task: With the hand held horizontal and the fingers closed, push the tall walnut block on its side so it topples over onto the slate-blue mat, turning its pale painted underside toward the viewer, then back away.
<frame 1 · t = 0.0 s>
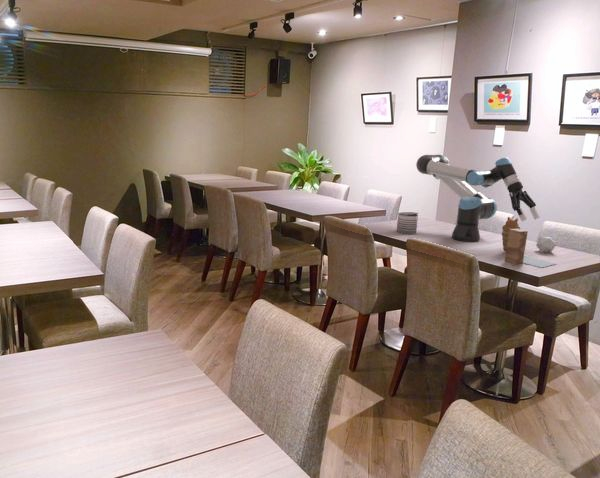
hand: (530, 219, 271), 15 cm above the table, tool tilted 35°, fingers open, 13 cm apart
can: (406, 233, 297), on the table
grey knobbly ball: (544, 252, 266), on the table
mat: (530, 261, 244), on the table
block: (513, 263, 238), on the table
cat ice cream: (507, 252, 260), on the table
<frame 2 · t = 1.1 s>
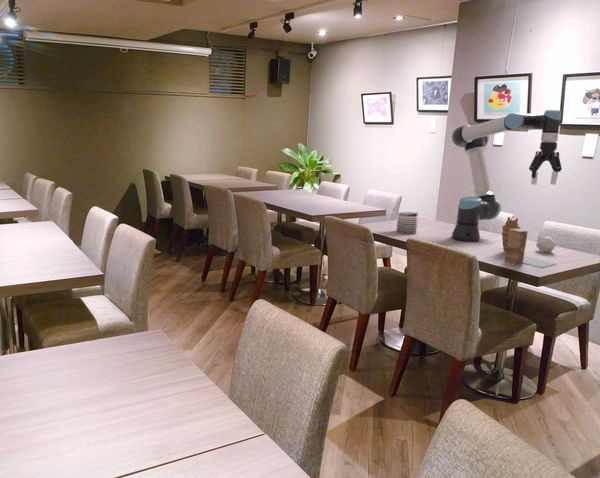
hand: (543, 184, 259), 35 cm above the table, tool pointing down, fingers open, 13 cm apart
nothing on the table moved.
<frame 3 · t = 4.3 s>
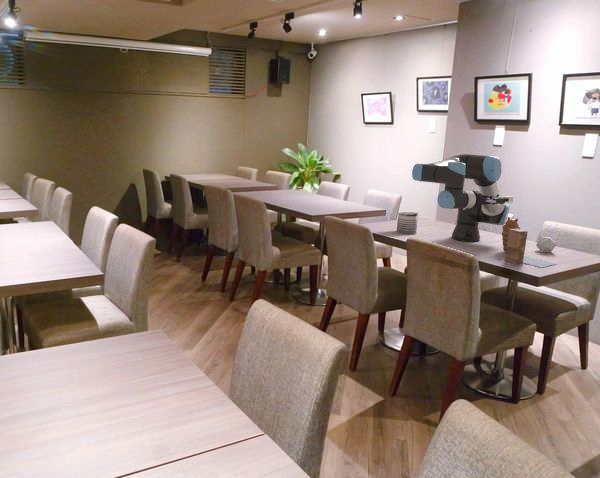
hand: (511, 199, 229), 30 cm above the table, tool horizontal, fingers closed
nothing on the table moved.
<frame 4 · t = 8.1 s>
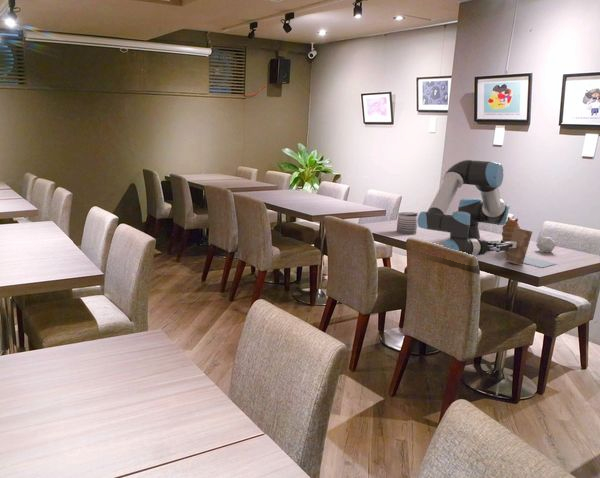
hand: (515, 244, 235), 9 cm above the table, tool horizontal, fingers closed
block: (513, 262, 238), on the table, tilted 11°
everything else where it was.
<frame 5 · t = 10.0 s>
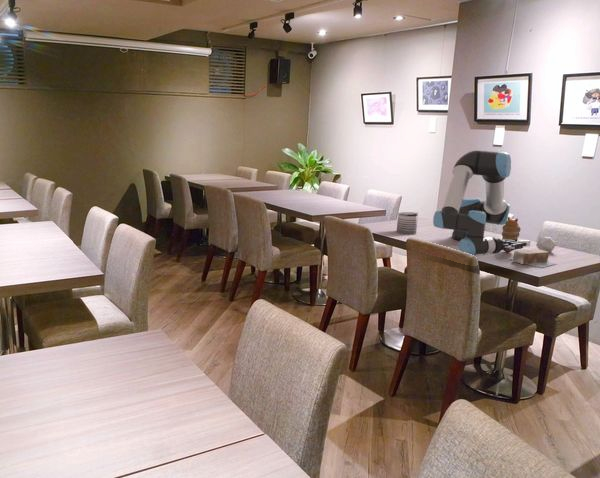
hand: (528, 243, 239), 9 cm above the table, tool horizontal, fingers closed
block: (518, 257, 238), point 3 cm above the table, tilted 90°, touching mat
everything else where it was.
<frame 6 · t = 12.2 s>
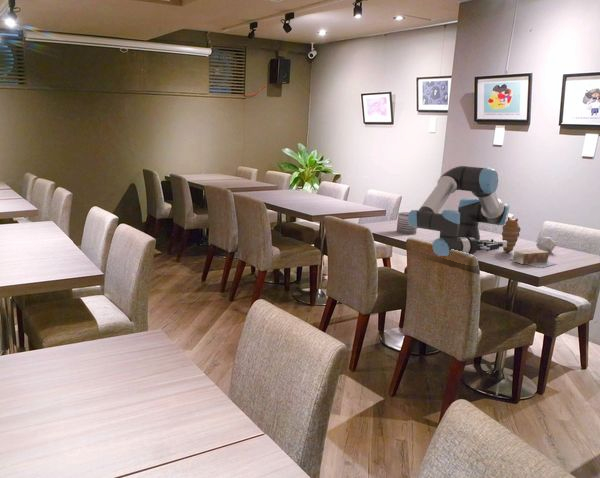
hand: (505, 243, 233), 10 cm above the table, tool horizontal, fingers closed
nothing on the table moved.
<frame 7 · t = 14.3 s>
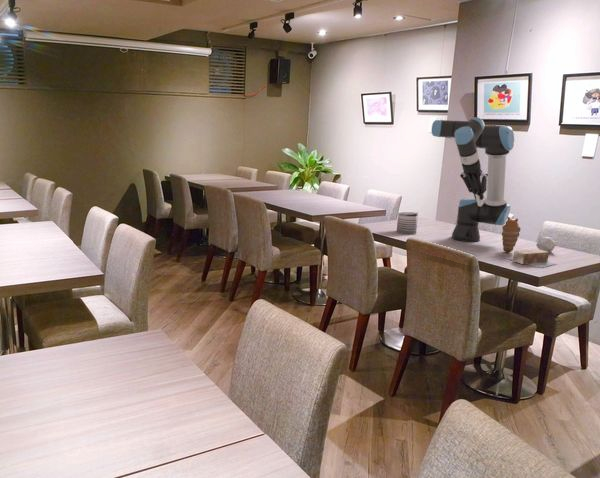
hand: (481, 204, 237), 26 cm above the table, tool tilted 30°, fingers closed
nothing on the table moved.
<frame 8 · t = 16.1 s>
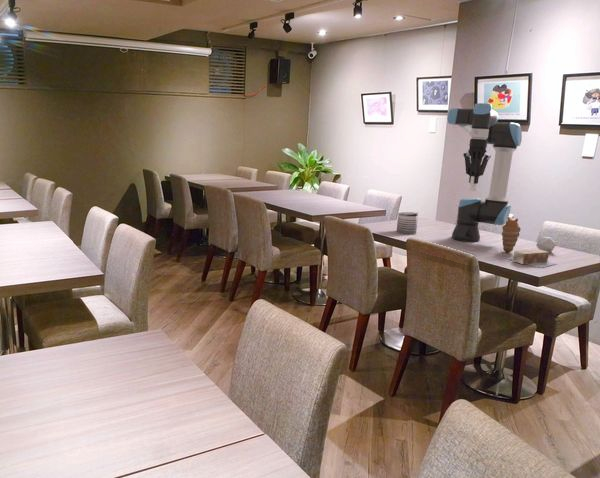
hand: (472, 190, 237), 32 cm above the table, tool pointing down, fingers closed
nothing on the table moved.
at the end: block tilted 90°; block inside the target area (7.8 cm from its centre), point 2.8 cm above the table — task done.
